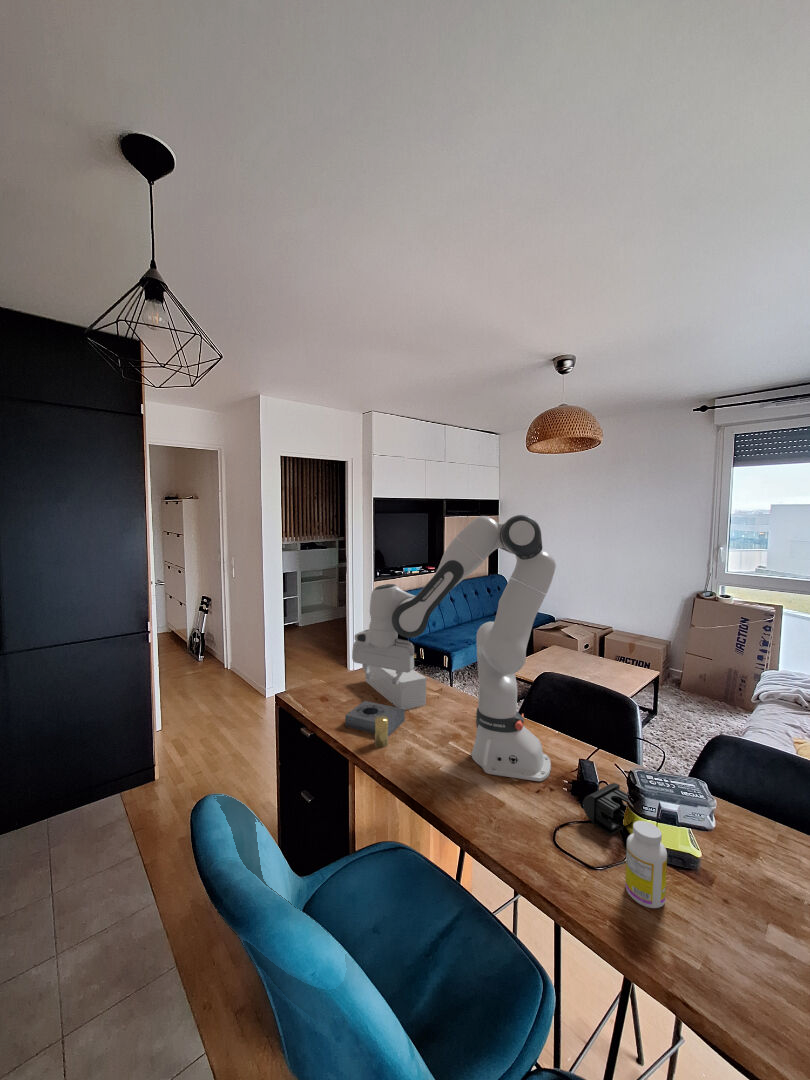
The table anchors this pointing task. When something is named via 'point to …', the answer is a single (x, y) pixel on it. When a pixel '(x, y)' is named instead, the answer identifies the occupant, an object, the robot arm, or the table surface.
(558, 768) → the table surface
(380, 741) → the peg
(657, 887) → the supplement bottle
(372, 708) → the jig
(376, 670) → the light gray rectangular block
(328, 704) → the table surface
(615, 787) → the end cap
